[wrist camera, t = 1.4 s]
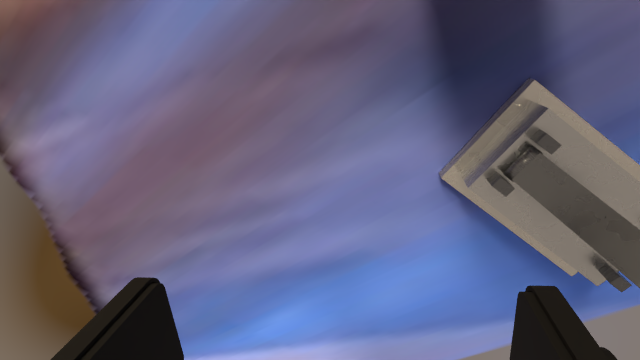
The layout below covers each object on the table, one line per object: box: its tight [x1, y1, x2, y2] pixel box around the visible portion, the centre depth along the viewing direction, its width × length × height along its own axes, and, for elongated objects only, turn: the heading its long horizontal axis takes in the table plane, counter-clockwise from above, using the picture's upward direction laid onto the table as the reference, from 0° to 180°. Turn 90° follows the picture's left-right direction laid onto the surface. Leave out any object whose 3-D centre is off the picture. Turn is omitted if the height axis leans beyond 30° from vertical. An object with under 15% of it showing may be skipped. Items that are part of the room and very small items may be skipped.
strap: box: [503, 145, 640, 288], centre depth 28 cm, size 3×15×1 cm
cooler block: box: [439, 78, 640, 292], centre depth 34 cm, size 12×18×8 cm, turn 54°
